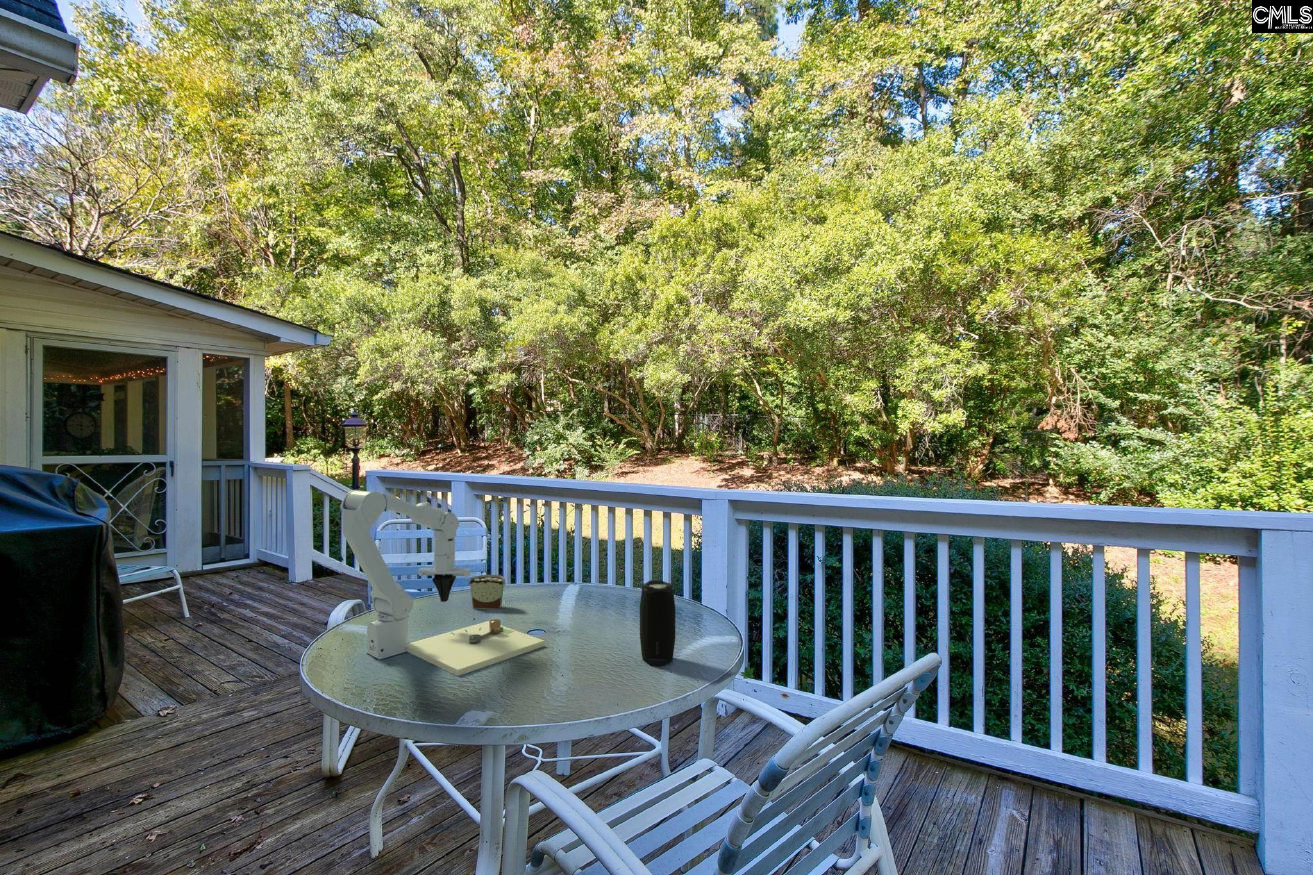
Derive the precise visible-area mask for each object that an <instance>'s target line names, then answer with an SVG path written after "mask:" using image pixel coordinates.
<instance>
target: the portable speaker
mask: <svg viewBox="0 0 1313 875" xmlns="http://www.w3.org/2000/svg"><path fill="white" fill-rule="evenodd" d="M673 588H674V584H673V583H671V582H667V581H664V580H661V579H650V580H649V581H647V582H645V583H642V587H641V595H640V600H639V641H640V642H639V643H640V652H641V659H642V661H643V660H644V661H646V662H647V663H648V665H649V666H651V667H662V665H664V666H665V664H666V663H668V662H669V661H670V660H671V661H673V659H674V652H675V644H676V602H675V595H674V594H675V593H674V589H673Z"/></svg>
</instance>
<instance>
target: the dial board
mask: <svg viewBox="0 0 1313 875" xmlns="http://www.w3.org/2000/svg"><path fill="white" fill-rule="evenodd" d="M489 621H490V620H487V621H484V622H480V623H477V624H473V625H469V626H466V627H465V626H464V627H463V628H459V629H455V630H452V631H449V632H448V631H447V632H445V633H442V634H441V633H440V634H438V635H437V634H436V635H434V636H430V637H427V638H423V639H420V640H416V641H412V642H408V644H407V645H406V649H407V650H408V651H407V652H406V653H409V654H411V655H413V656H415V657H416V658H419V659H421V660H424V661H425V662H427V663H430V664H432V665H433V666H436V667H438V668H439V669H441V670H444V671H446V672H449V673H451V674H453V675H455V676H456V677H459V676H462V675H464V674H467V673H471V672H474V671H476V670H479V669H482V668H485V667H489V666H491V665H493V664H494V665H495V664H497V663H500V662H502V661H505V660H508V659H511V658H514V657H517V656H519V655H522V654H525V653H529V652H531V651H535V650H536V649H539V648H543V647H545V640H544V639H540V638H538V637H535V636H532V635H529V634H526V633H525V632H524V633H523V632H521V631H519V630H515V629H512V628H510V627H507V626H504V625H501V627H503V630H501V632H500V633H498V634H492V635H490V636H488V637H485V638H483V639H481V642H479V643H469V636H471V635H475V634H479V635H481V636H482V635H484V634H486V633H488V632H489Z"/></svg>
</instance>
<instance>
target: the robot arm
mask: <svg viewBox="0 0 1313 875" xmlns="http://www.w3.org/2000/svg"><path fill="white" fill-rule="evenodd" d="M339 508H340V509H341V511H342V533H343V536H344V538H345V540H346V542H347V543H348V545H349V548H350V549H351V551H352V553H353V555H354V557H355V559H356V561H357V562H358V565H359V566H360V568H361V569H362V571H363V572H362V573H363V574H364V575H365V577H366V578H367V580H368V582H369V585H370V587H372V589H371V591H370V593H369V594H370V597H371V599H372V608H373V610H374V611H375V612H376V613H377V619H376V620H374V621H372V622H369V623H368V625H367V628H366V629H367V631H366V638H367V640H366V641H367V642H366V646H367V647H366V649H365V650H366V651H365V653H367V654H368V655H370V656H372V657H374V658H376V659H377V660H382V659H386V658H388V657H389V658H390V657H392V656H397V655H400V654H402V653H403V654H404V653H408V652H407V651H408V650H407V649H406V645H407V644H408V643H409V634H408V633H409V628H408V627H409V621H408V620H409V616H410V614H411V612H412V611H413V609H414V599H413V597H412V595H410V594H408V593H407V592H406V591H405V589H404V588H403V586H401V585H400V584H399V583H398V582H396V581H395V578H394V577H393V575H392V573H391V572H390V569H389V567H388V566H387V564H386V562H385V560H384V557H383V556H382V554H381V552H380V550H379V549H378V546H377V544H376V542H375V540H374V538H373V537H372V535H371V532H370V530H371V529H372V527H373V525H374V524H375V523H376V522H377V520H378V519H379V517H380V516H381V515H382V514H383V512H386V513H387V512H389V511H391V512H395V513H397V514H401V515H405V516H408V517H410V520H411V522H412V523H413V524H417V525H419V526H423V527H426V528H429V529H430V530H431V531H433V567H421V568H418V576H419V577H423V576H433V577H432V580H431V581H432V583H433V584H434V587H435V588H436V590H437V593H438V595H439V599H440V602H441V603H442V602H443V603H446V602H448V601H449V597H450V594H451V590H452V588H453V585H454V583H455V580H456V578H457V577H464V578H468V577H469V576H471V568H464V567H456V536H457V530H459V529H458V528H459V527H460V522H461V521H460V520H459V519H458V517H457V515H456V514H455V513H454V512H447V511H444V509H443V508H441V507H438V508H437V507H434V506H432V505H431V503H430V502H427V501H425V502H424V501H423V502H419V503H417V504H413V503H411V502H408V501H406V500H403V499H401V498H398V497H397V496H394V495H391V494H388V493H382V492H380V491H368V490H367V491H365V490H360V489H352V490H350V491H349V492H347V493H346V494H345V495H344V498H343V500H342V502H341V503H340V506H339Z"/></svg>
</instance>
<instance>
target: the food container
mask: <svg viewBox="0 0 1313 875" xmlns="http://www.w3.org/2000/svg"><path fill="white" fill-rule="evenodd" d="M506 584H507V583H506V578H505V577H504V576H503V575H500V574H499V575H498V574H482V575H477V576H473V577H470V578H469V580H468V585H470V594H471V604H472V610H502V605H503V597H504V596H503V594H504V586H506Z"/></svg>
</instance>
